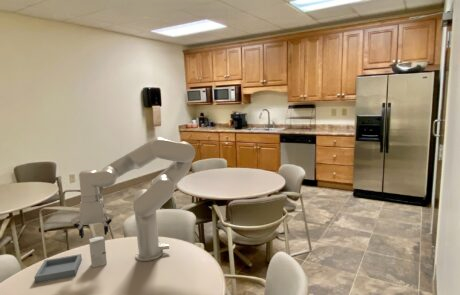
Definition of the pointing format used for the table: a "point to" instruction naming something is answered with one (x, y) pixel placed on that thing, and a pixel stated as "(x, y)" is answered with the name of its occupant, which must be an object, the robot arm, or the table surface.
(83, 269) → the table surface
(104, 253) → the skincare box
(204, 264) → the table surface
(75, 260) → the tray
